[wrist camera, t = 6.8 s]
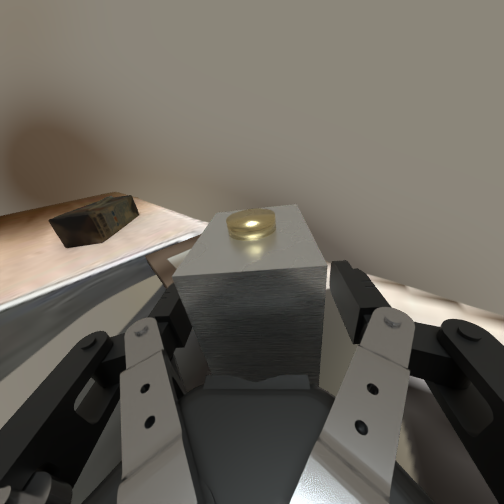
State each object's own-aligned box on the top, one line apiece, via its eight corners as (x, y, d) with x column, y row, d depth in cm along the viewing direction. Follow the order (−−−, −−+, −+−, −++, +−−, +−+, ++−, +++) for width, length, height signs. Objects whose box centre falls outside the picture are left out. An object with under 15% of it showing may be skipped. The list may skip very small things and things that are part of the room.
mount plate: (285, 266, 23) (285, 257, 22) (192, 326, 17) (188, 315, 16) (218, 234, 34) (216, 227, 34) (148, 263, 28) (144, 255, 28)
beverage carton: (141, 215, 55) (131, 191, 52) (104, 244, 38) (86, 212, 35) (113, 219, 55) (102, 196, 52) (64, 251, 38) (42, 219, 35)
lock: (231, 422, 11) (164, 259, 5) (242, 330, 16) (214, 202, 11) (316, 424, 10) (328, 245, 5) (298, 328, 15) (296, 192, 10)
